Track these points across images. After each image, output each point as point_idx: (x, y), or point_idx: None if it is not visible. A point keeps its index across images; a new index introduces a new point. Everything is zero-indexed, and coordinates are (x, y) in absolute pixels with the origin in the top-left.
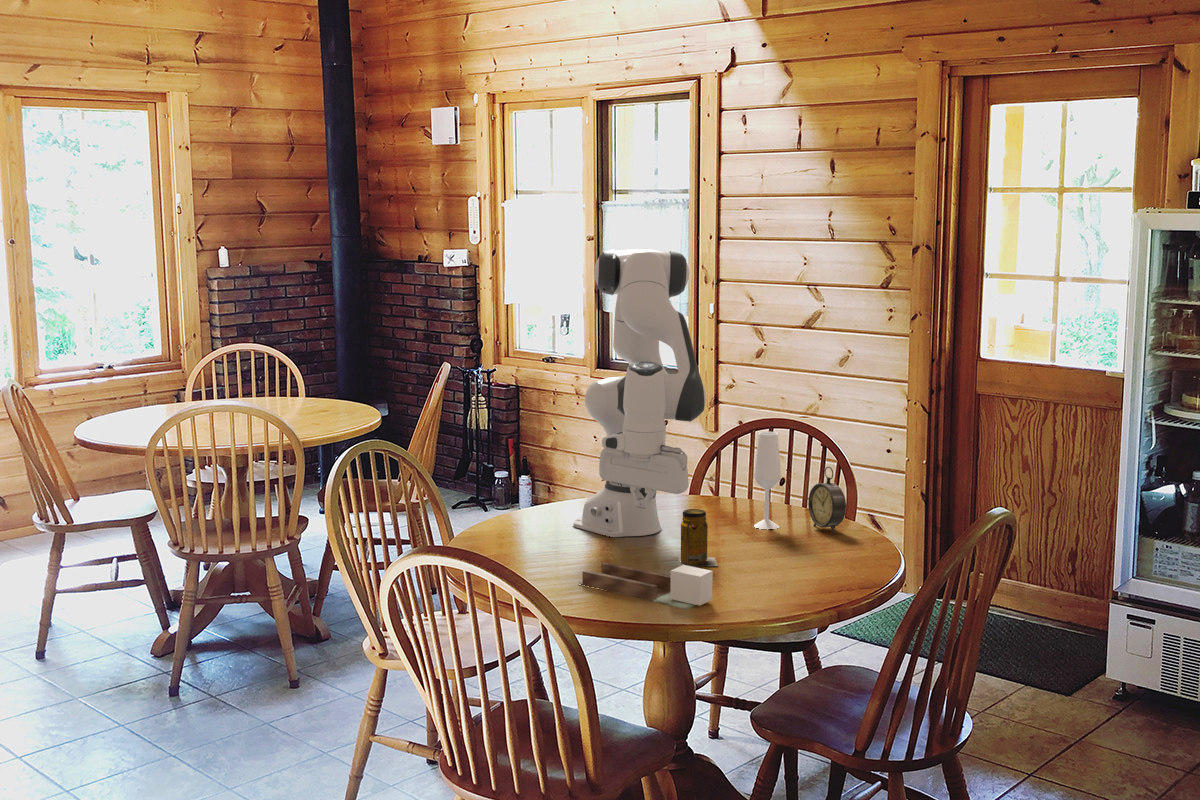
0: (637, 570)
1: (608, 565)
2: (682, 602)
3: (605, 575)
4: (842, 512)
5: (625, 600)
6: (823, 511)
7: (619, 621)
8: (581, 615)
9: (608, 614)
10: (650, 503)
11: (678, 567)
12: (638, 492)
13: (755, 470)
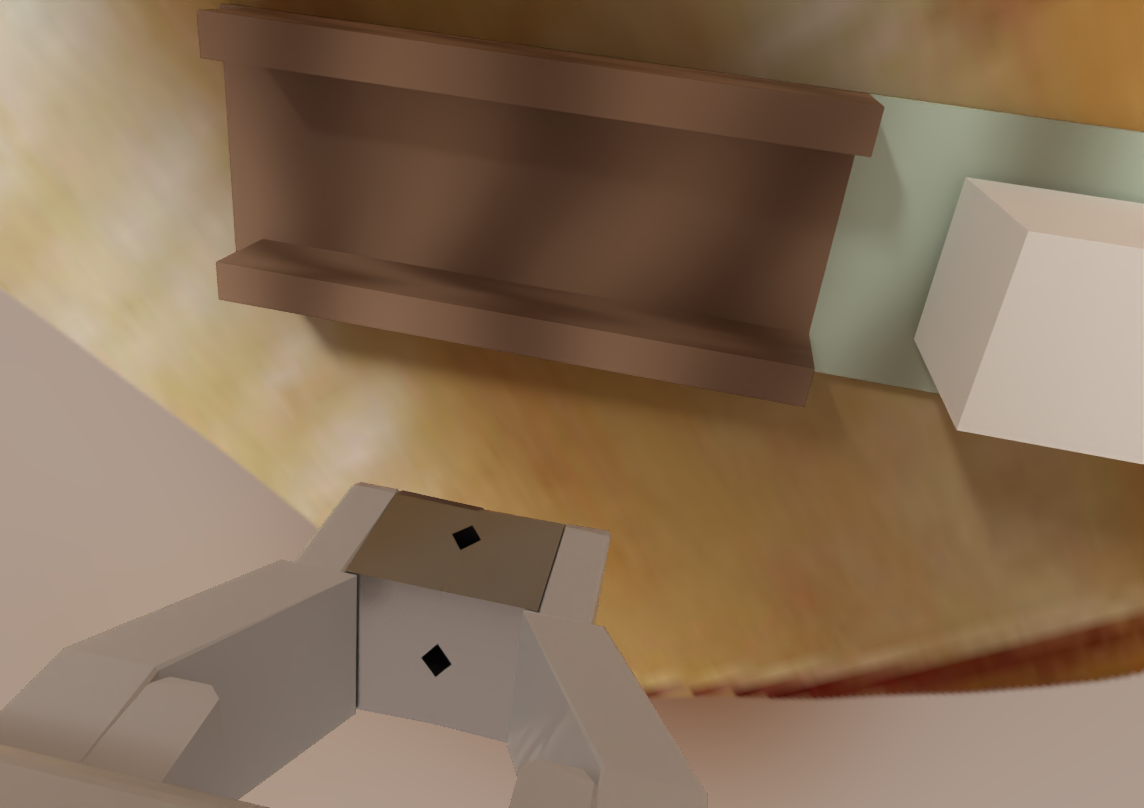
0: (526, 94)
1: (264, 66)
2: None
3: (391, 314)
4: None
5: (626, 402)
6: None
7: (742, 685)
8: None
9: (647, 621)
10: (600, 581)
11: (1003, 322)
12: (238, 679)
13: None
